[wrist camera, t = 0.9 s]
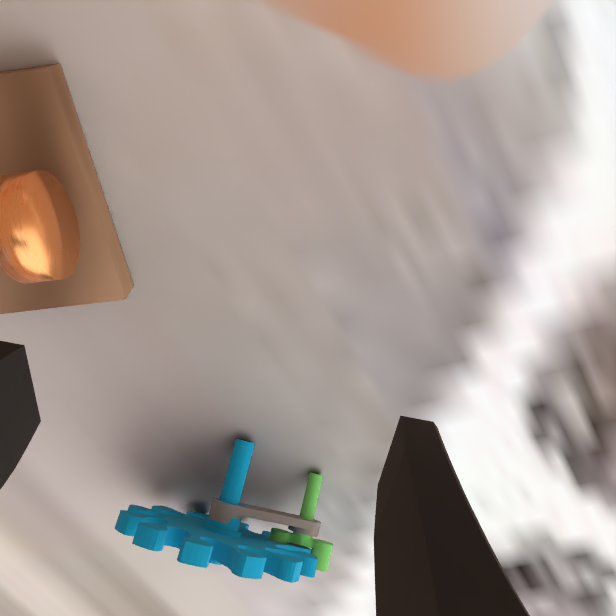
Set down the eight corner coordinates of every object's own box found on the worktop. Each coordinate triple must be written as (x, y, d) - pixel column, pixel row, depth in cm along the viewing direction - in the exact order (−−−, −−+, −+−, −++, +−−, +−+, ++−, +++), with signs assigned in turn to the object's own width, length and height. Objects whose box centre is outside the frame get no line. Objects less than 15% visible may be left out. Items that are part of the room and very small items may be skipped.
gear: (101, 521, 29) (125, 577, 20) (137, 413, 31) (174, 421, 22) (282, 553, 33) (368, 612, 24) (305, 457, 35) (394, 479, 26)
